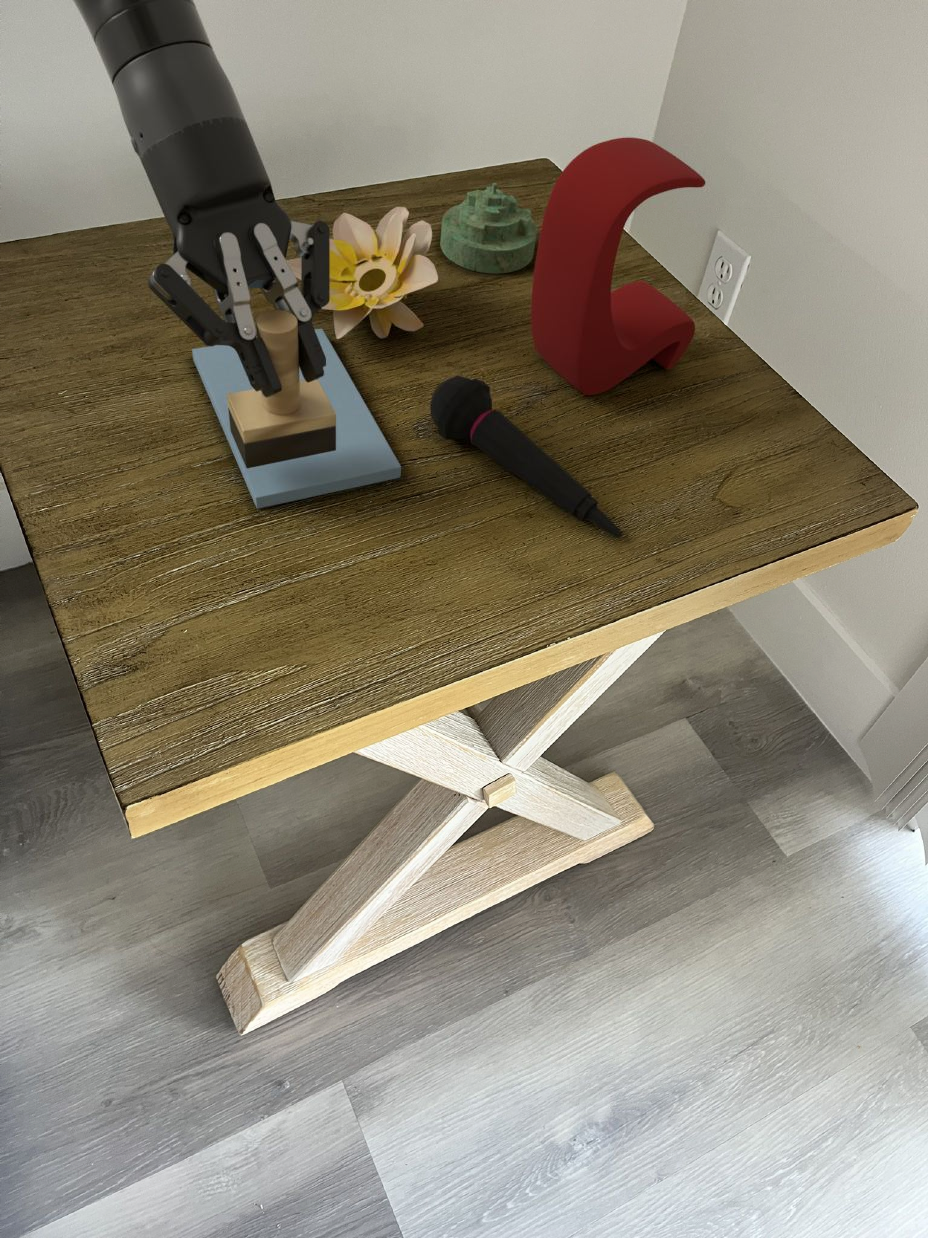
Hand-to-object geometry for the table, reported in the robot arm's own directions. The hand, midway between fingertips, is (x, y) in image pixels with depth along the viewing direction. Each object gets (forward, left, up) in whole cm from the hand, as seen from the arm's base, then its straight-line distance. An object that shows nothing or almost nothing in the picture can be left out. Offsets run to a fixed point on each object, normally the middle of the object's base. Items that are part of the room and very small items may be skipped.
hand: (294, 385), depth 69 cm
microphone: (+18, -3, -11) cm, 21 cm away
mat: (+3, +10, -11) cm, 15 cm away
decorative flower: (+14, +24, -11) cm, 29 cm away
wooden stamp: (0, +2, -7) cm, 7 cm away
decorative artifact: (+31, +31, -11) cm, 45 cm away
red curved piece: (+33, +9, -11) cm, 35 cm away
